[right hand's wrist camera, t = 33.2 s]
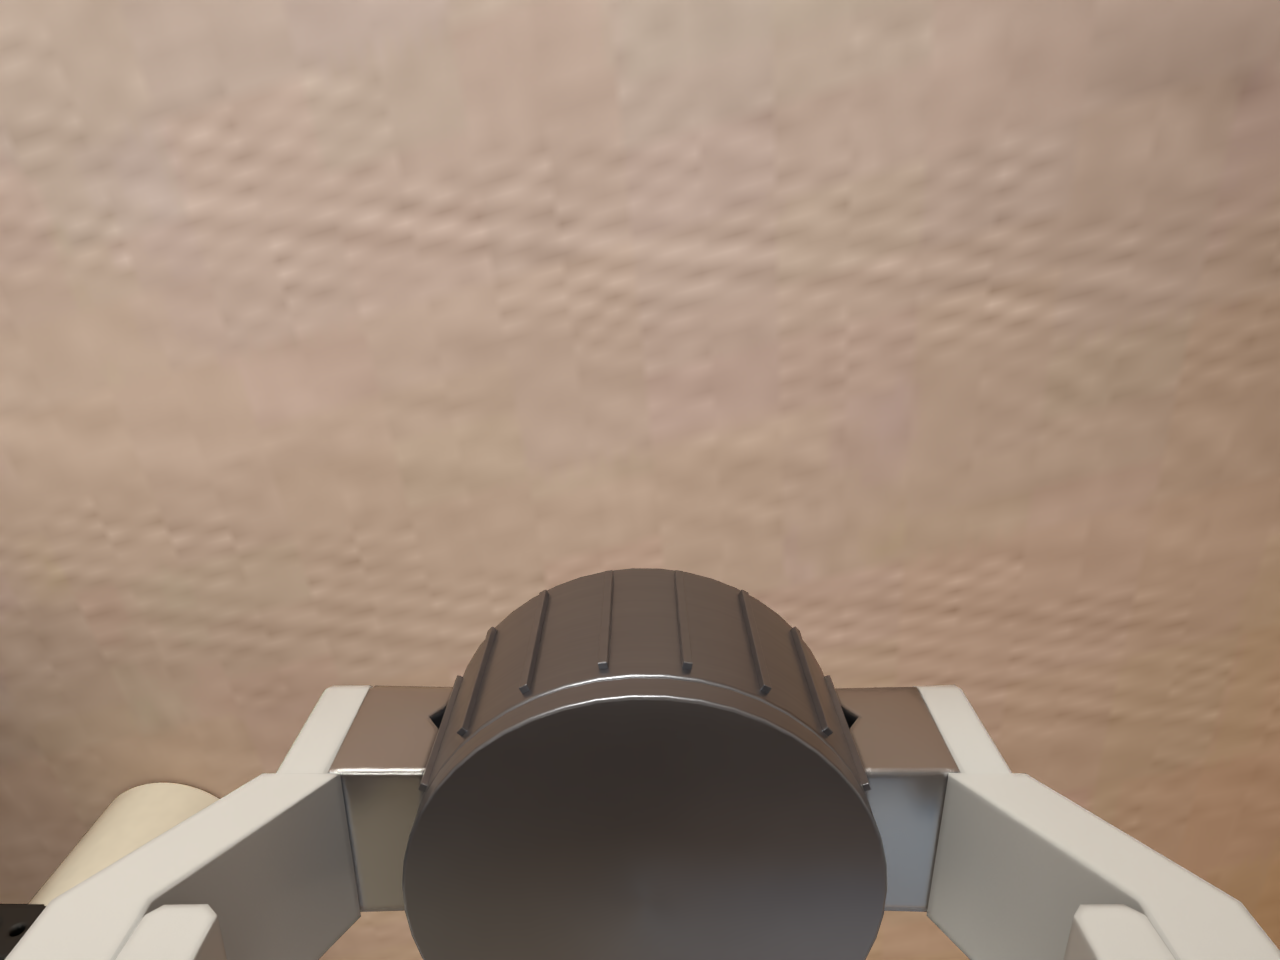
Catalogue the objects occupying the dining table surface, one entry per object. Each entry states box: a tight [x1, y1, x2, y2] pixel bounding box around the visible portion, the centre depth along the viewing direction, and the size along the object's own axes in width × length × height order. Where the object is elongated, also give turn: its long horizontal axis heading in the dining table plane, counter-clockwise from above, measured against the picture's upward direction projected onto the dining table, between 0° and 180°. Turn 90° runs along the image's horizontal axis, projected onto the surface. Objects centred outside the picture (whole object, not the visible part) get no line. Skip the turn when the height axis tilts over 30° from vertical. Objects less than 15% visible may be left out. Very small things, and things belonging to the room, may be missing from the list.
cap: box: [402, 568, 887, 960], centre depth 9 cm, size 4×4×2 cm
